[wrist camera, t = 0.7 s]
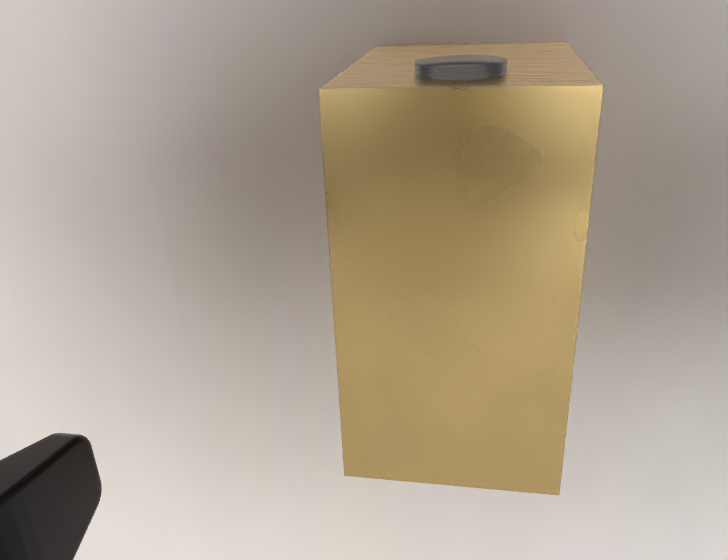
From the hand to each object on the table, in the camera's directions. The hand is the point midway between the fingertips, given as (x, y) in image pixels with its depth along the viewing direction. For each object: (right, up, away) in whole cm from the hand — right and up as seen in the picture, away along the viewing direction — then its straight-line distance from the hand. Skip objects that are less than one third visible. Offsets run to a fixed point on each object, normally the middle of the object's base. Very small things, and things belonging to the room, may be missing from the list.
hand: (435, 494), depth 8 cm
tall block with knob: (+2, +4, +10) cm, 11 cm away
